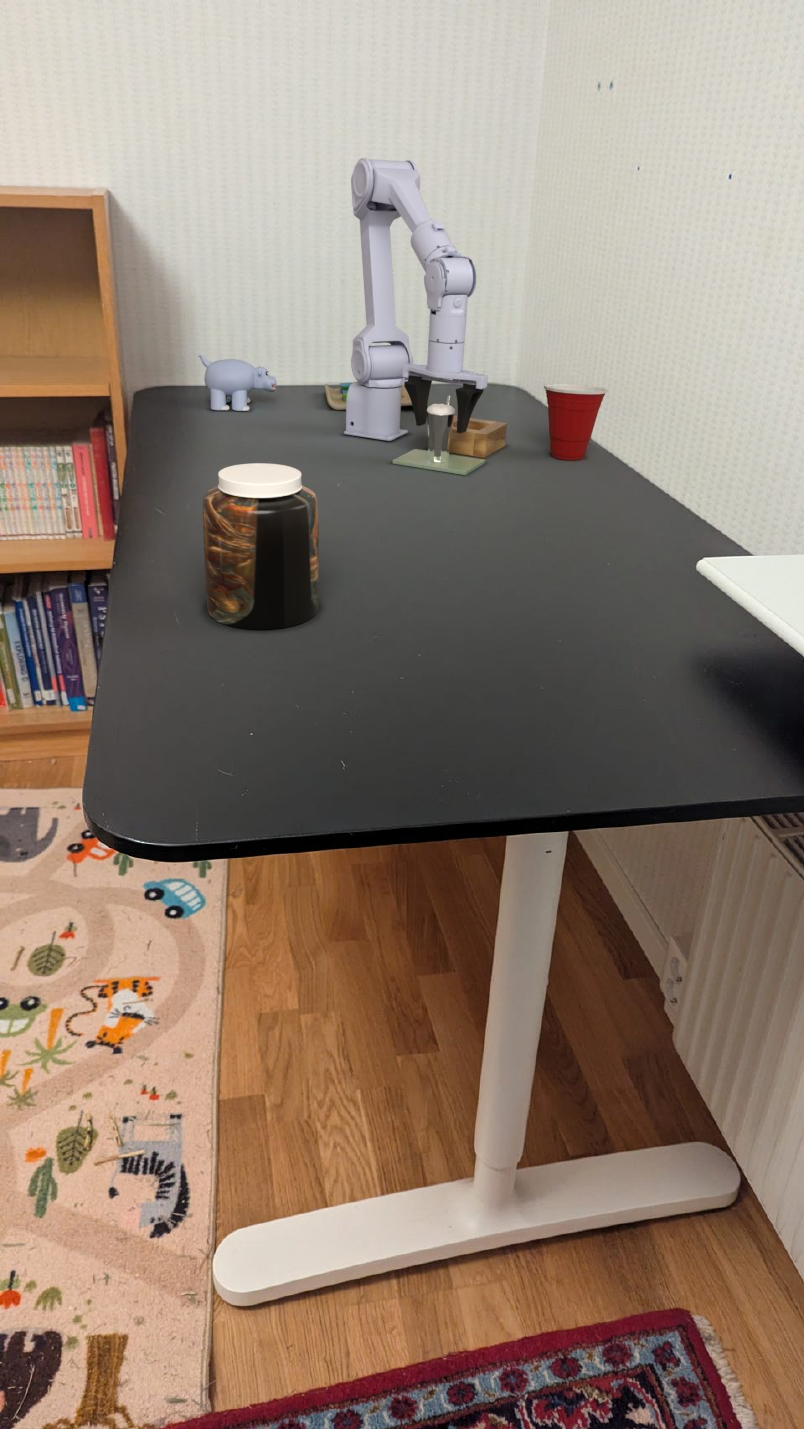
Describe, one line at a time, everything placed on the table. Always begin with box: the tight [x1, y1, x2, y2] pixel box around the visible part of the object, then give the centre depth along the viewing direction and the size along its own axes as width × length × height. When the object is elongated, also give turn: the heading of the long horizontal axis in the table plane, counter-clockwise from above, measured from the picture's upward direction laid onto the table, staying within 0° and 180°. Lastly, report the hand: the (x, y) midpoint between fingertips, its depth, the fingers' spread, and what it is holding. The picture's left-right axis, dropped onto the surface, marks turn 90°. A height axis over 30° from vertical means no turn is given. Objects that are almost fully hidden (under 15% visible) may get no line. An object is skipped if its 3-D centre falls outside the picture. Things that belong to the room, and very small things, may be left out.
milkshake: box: [426, 394, 456, 463], centre depth 166 cm, size 4×5×10 cm
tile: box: [392, 448, 486, 476], centre depth 169 cm, size 13×9×1 cm
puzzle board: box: [323, 381, 413, 411], centre depth 209 cm, size 18×19×3 cm
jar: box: [202, 462, 320, 630], centre depth 107 cm, size 12×12×15 cm
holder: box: [449, 415, 508, 459], centre depth 178 cm, size 10×10×4 cm
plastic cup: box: [543, 383, 609, 461], centre depth 174 cm, size 11×11×12 cm
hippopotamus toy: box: [198, 354, 278, 412], centre depth 199 cm, size 11×15×10 cm
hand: (441, 428), depth 166 cm, fingers open, 7 cm apart
